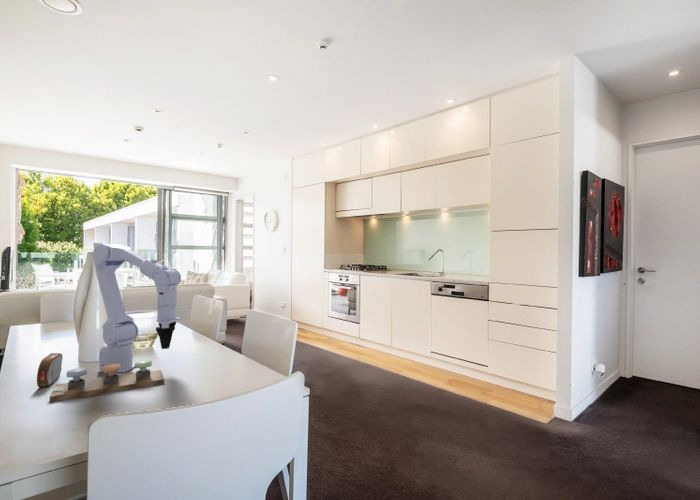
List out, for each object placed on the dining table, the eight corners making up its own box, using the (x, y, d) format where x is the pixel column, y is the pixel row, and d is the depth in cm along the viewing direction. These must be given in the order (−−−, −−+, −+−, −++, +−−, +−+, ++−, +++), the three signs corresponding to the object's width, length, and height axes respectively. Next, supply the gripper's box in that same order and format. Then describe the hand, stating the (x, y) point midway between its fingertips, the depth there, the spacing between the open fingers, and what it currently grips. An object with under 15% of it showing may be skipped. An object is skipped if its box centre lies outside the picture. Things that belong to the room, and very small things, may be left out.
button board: (49, 402, 102) (49, 389, 102) (55, 389, 111) (55, 378, 111) (164, 383, 116) (164, 373, 116) (160, 374, 126) (160, 364, 126)
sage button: (134, 375, 115) (134, 365, 115) (134, 370, 119) (134, 361, 119) (152, 372, 117) (152, 362, 117) (151, 368, 122) (151, 359, 122)
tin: (52, 375, 124) (52, 350, 124) (63, 374, 125) (64, 349, 125) (35, 391, 110) (35, 362, 110) (48, 389, 111) (48, 361, 111)
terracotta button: (101, 379, 110) (101, 369, 110) (102, 375, 114) (102, 365, 115) (120, 377, 113) (120, 367, 113) (120, 372, 117) (120, 363, 117)
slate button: (65, 384, 106) (65, 374, 106) (67, 380, 110) (67, 369, 110) (86, 381, 108) (86, 371, 108) (87, 377, 113) (87, 367, 113)
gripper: (179, 307, 121) (178, 350, 121) (180, 302, 134) (180, 340, 134) (154, 308, 118) (153, 351, 118) (158, 302, 132) (158, 341, 131)
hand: (166, 345), depth 126 cm, fingers open, 7 cm apart
